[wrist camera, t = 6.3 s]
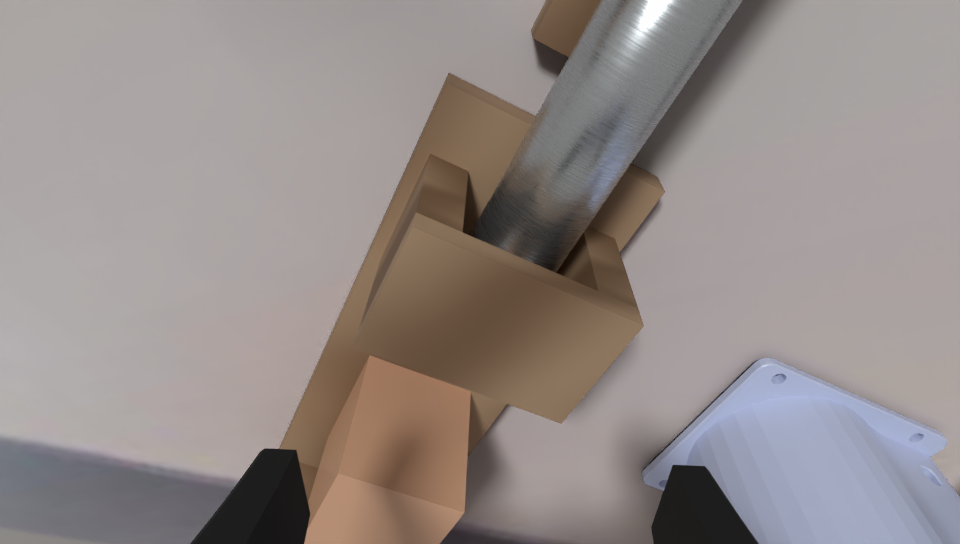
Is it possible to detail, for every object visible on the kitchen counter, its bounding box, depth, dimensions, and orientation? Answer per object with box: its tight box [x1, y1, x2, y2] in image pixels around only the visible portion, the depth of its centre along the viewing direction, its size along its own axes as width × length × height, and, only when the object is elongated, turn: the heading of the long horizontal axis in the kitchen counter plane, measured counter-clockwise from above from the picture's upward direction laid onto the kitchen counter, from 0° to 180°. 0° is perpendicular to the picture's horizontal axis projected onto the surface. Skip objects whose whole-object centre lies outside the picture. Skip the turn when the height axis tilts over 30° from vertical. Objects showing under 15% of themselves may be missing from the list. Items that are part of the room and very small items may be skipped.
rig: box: [279, 0, 665, 501], centre depth 19 cm, size 7×22×5 cm, turn 154°
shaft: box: [470, 0, 743, 273], centre depth 13 cm, size 3×17×3 cm, turn 154°
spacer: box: [304, 356, 471, 544], centre depth 20 cm, size 4×5×5 cm
